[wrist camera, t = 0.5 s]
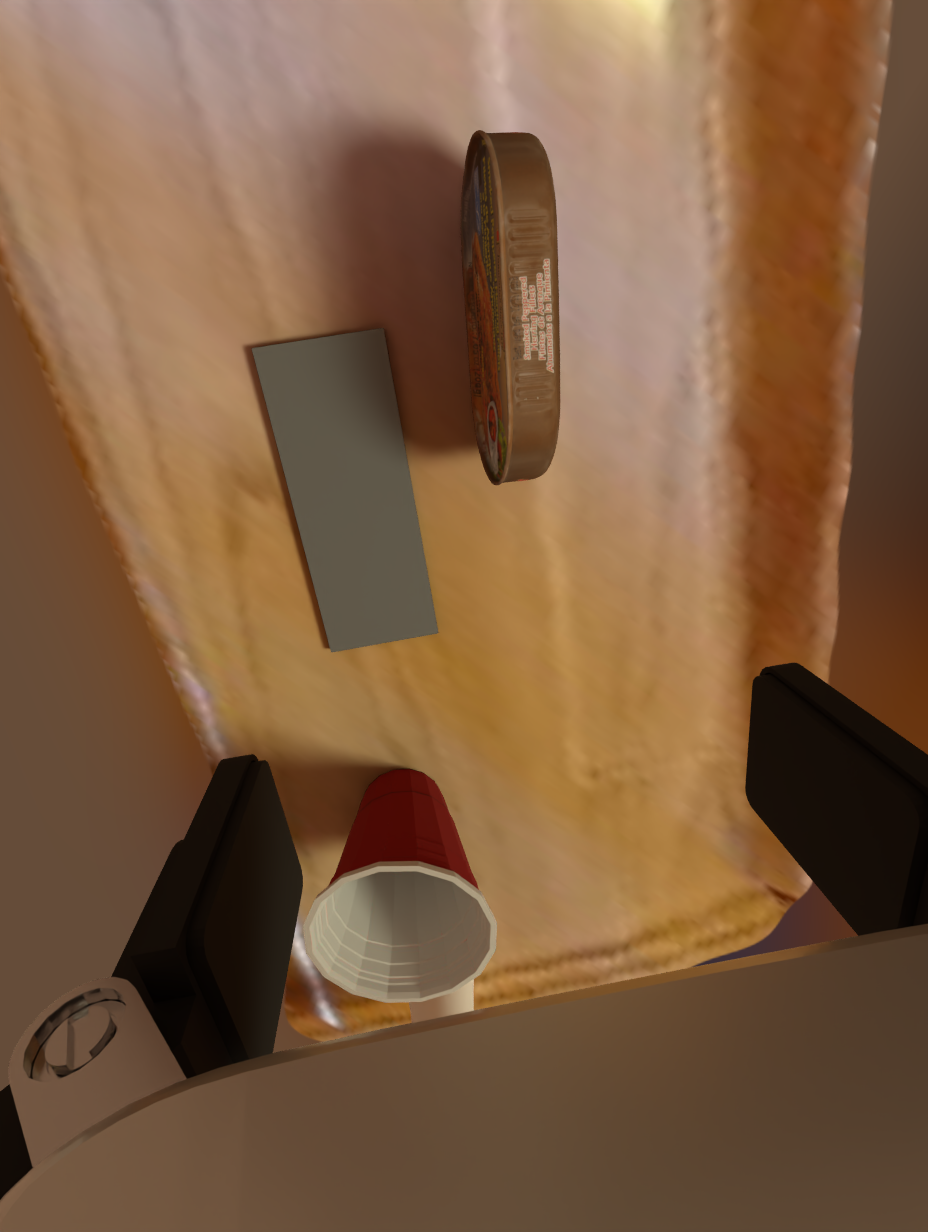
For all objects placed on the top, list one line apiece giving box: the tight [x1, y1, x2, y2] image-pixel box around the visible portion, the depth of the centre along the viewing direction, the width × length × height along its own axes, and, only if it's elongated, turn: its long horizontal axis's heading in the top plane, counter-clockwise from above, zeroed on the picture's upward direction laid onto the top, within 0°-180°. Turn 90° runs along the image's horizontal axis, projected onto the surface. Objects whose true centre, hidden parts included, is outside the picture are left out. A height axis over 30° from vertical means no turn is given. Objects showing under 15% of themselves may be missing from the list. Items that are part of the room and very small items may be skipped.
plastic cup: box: [303, 769, 497, 1003], centre depth 38 cm, size 11×11×12 cm
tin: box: [461, 130, 560, 485], centre depth 29 cm, size 15×3×8 cm, turn 4°
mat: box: [252, 328, 438, 652], centre depth 35 cm, size 18×7×1 cm, turn 8°
